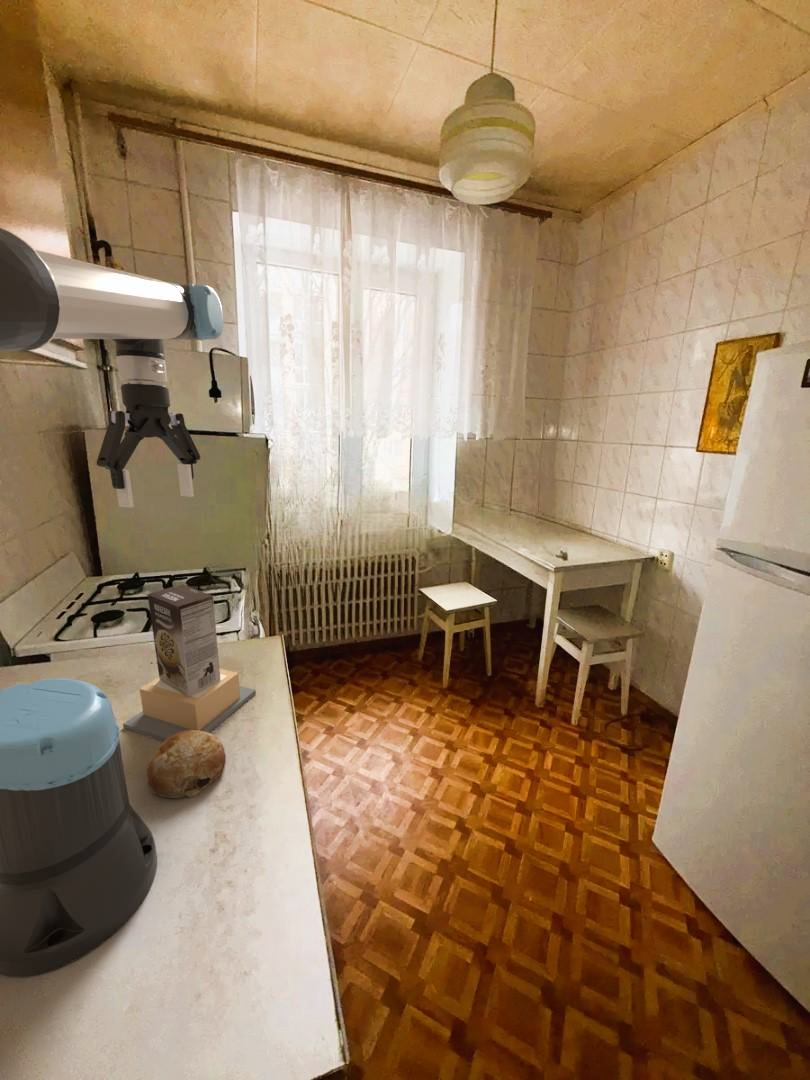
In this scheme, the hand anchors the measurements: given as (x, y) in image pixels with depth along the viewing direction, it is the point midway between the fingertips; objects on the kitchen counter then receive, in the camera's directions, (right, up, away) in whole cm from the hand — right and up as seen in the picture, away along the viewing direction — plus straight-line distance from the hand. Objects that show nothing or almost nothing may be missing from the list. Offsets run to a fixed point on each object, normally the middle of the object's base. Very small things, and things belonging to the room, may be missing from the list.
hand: (159, 501), depth 84 cm
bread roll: (+15, -42, -20) cm, 49 cm away
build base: (+10, -38, -6) cm, 39 cm away
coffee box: (+10, -32, -8) cm, 34 cm away
